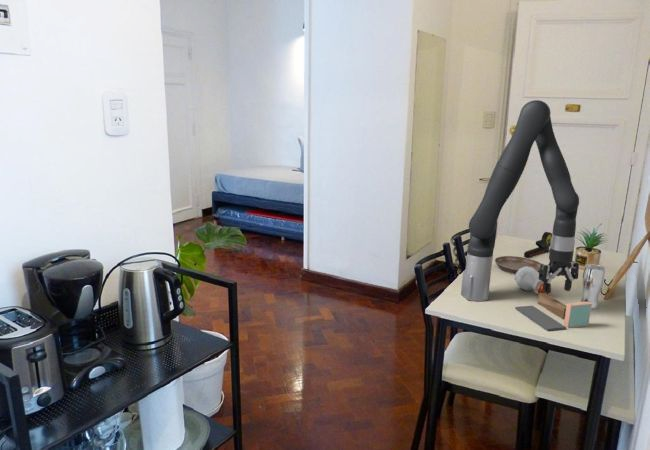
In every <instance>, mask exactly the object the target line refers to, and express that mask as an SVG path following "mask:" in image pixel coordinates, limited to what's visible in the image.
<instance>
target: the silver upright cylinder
mask: <svg viewBox="0 0 650 450" xmlns="http://www.w3.org/2000/svg"><path fill="white" fill-rule="evenodd" d="M605 275H606V267H604V266H601V265H599V264H593V263H589V264H588V263H587V264H584V269H583V273H582V277H581V278H582V280H581V284H582V285H581V287H582V290H581V291H582V295H581V298H580V302H589V303H591V304H592V306H591V309H594V310H595V309H597V308H599V296H600V295H601V291H602V288H603V286H604V283H605V282H604V281H605Z"/></svg>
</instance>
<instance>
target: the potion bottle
mask: <svg viewBox="0 0 650 450" xmlns="http://www.w3.org/2000/svg"><path fill="white" fill-rule="evenodd" d="M538 278H539V273H538V272H537V271H536V270H535V269H534V268H532V267H527V266H525V267H523V268H520V269H519V270H518V271H517V272H516V274H514V281H515V283H516V285H517V287H519V288H520V289H521V290H524V291H531V290H533V293H535V294H536V295H537V296H539V293H546V292H544V290H543V281H541V280H539V279H538ZM551 293H552V284H551V283H550V289H549V293H546V294H548V295H549V294H551Z"/></svg>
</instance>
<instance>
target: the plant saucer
mask: <svg viewBox="0 0 650 450" xmlns="http://www.w3.org/2000/svg"><path fill="white" fill-rule="evenodd" d="M494 263H495V264H496V266H498V268H499V269H500V270H502V271H504V272H506V273H509V274H512V275H516V272H517V271H518V270H519V269H520V268H523V267H525V266H527V267H532V268H534V269H535V270H536V271H537V272H538V273H539V272H540V266H541V264H542V262H539V261H537V260H534V259H532V258H526V257H524V256H523V257H522V256H515V255H513V256H512V255H503V256H498V257H496V258H494Z"/></svg>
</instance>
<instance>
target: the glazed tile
mask: <svg viewBox="0 0 650 450" xmlns="http://www.w3.org/2000/svg"><path fill="white" fill-rule="evenodd" d="M566 306H567V307H566V313H565V319H563V320H564V322H563V325H564V326H565V327H566V329H567V328H568V329H570V328H580V327H589V324H590V317H591V310H592V308H591V306H592V304H591V303H589V302H579V301H578V302H576V301H575V302H568V303H566Z"/></svg>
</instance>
